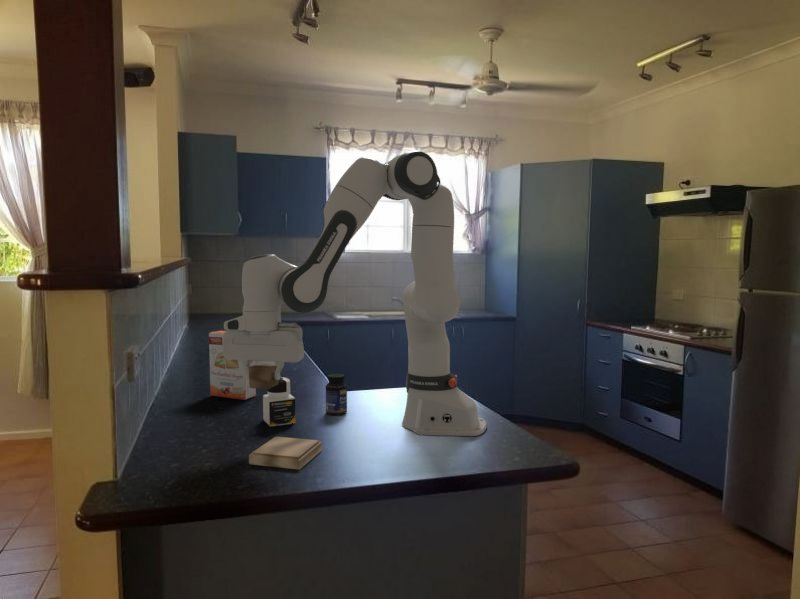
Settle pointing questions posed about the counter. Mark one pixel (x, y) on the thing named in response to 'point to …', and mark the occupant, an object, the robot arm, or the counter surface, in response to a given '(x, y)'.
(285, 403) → the medicine bottle
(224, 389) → the cracker box
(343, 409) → the pill bottle
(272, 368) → the cube
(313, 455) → the square wooden base
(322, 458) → the counter surface
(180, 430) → the counter surface
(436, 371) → the robot arm
